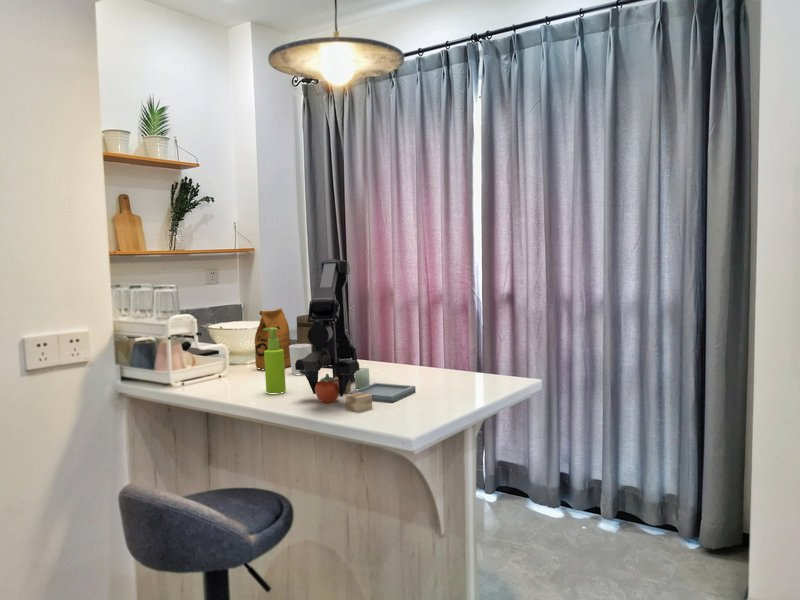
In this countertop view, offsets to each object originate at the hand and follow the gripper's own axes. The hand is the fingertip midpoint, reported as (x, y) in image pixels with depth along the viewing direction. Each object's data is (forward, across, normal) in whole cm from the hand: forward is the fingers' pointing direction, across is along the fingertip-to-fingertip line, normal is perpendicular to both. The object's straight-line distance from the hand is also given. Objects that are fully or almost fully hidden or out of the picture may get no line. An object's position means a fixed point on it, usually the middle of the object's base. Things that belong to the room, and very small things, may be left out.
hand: (328, 395), depth 180 cm
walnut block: (+2, -3, +11) cm, 12 cm away
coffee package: (+2, -51, +36) cm, 62 cm away
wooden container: (+2, -42, +51) cm, 66 cm away
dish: (+2, +11, +12) cm, 16 cm away
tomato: (+2, 0, 0) cm, 2 cm away
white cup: (+2, -34, +31) cm, 46 cm away
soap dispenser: (+2, -23, +4) cm, 23 cm away
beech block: (+2, +13, -4) cm, 14 cm away
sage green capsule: (+2, 0, +18) cm, 18 cm away
